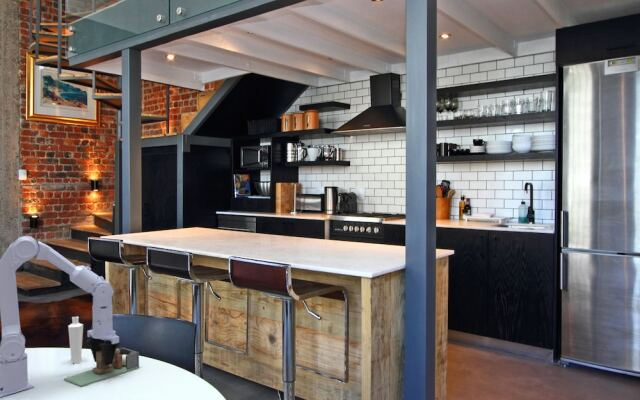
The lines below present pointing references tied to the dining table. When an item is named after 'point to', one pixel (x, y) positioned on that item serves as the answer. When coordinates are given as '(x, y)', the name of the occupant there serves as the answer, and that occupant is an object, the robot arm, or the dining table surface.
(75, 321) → the perfume bottle
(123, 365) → the ball
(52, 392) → the dining table surface
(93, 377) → the pitch mat
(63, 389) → the dining table surface
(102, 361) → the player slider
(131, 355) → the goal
